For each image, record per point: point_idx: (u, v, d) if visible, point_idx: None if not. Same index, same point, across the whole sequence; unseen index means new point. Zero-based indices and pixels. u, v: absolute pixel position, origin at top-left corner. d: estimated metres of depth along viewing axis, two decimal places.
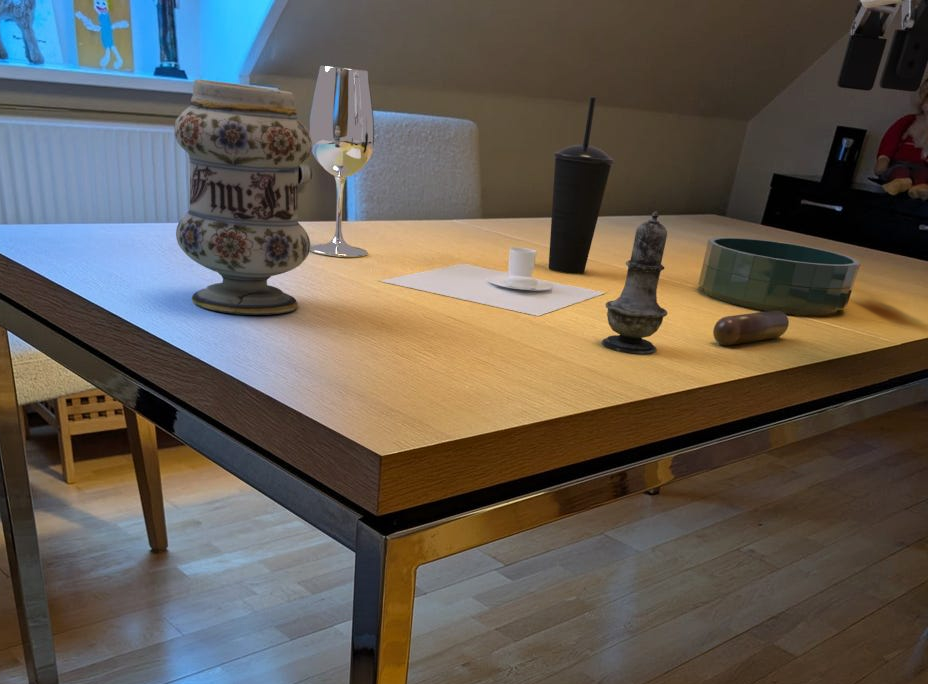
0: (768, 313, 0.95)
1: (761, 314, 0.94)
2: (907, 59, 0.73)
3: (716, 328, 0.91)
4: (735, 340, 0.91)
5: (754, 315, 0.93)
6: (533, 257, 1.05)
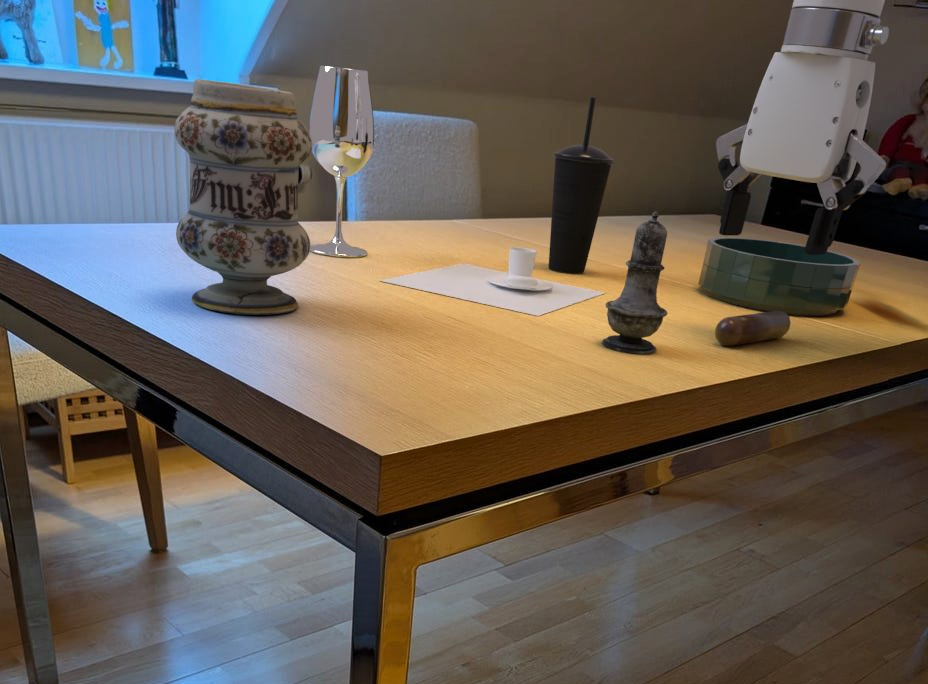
0: (771, 315, 0.94)
1: (764, 316, 0.94)
2: (829, 232, 0.85)
3: (718, 328, 0.91)
4: (735, 342, 0.91)
5: (757, 317, 0.93)
6: (533, 257, 1.05)
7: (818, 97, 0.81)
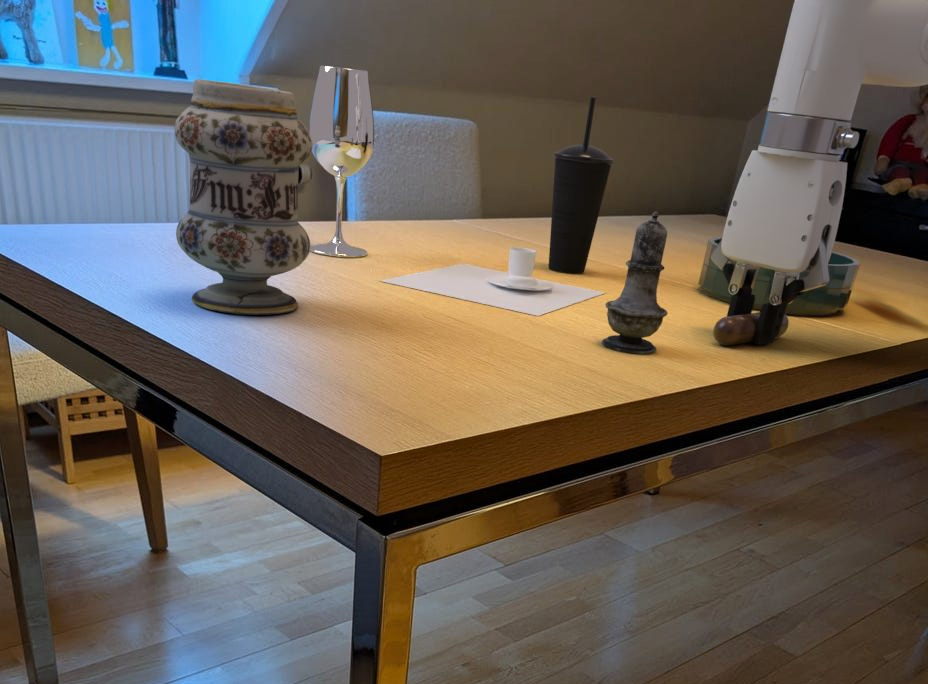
0: None
1: None
2: (775, 324, 0.92)
3: (716, 328, 0.91)
4: (735, 340, 0.91)
5: (754, 315, 0.93)
6: (533, 257, 1.05)
7: (793, 195, 0.85)
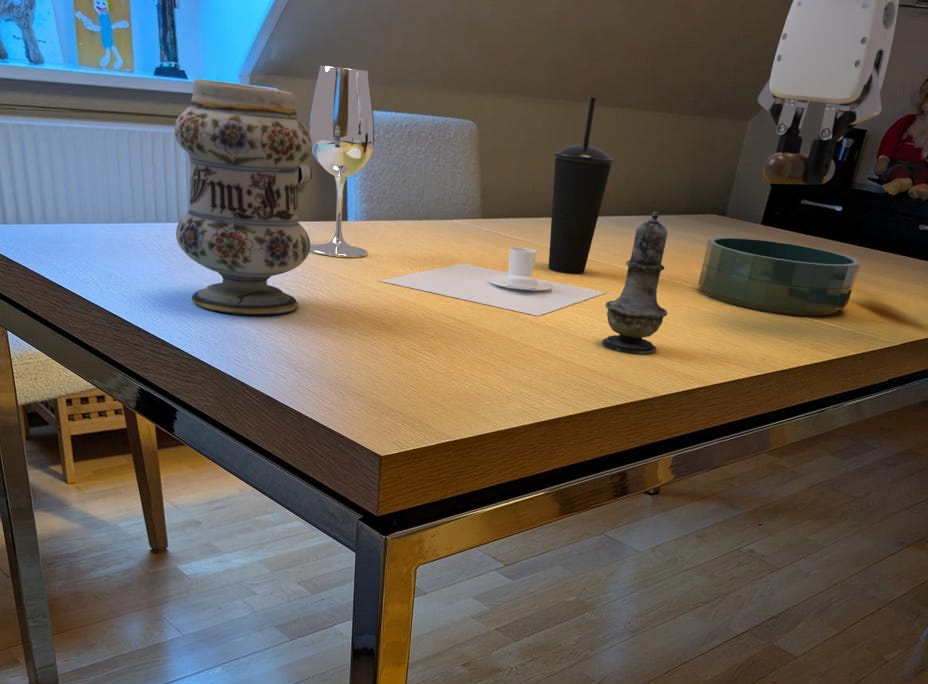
0: None
1: None
2: (825, 162, 0.92)
3: (767, 165, 0.91)
4: (786, 176, 0.91)
5: (803, 154, 0.93)
6: (533, 257, 1.05)
7: (846, 19, 0.85)
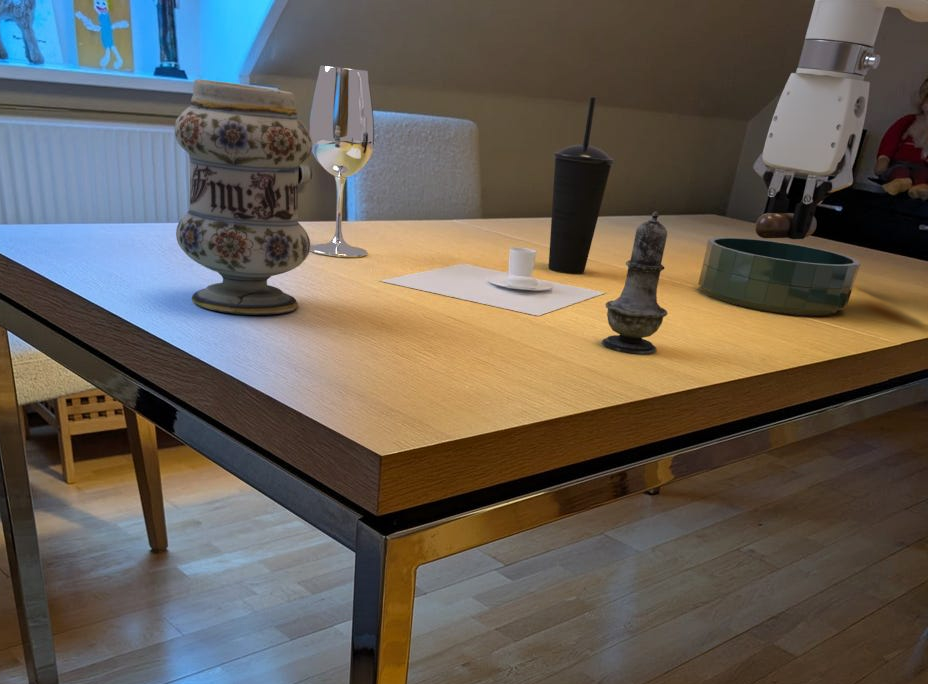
0: None
1: None
2: (806, 221, 1.11)
3: (758, 223, 1.10)
4: (773, 233, 1.10)
5: (789, 214, 1.12)
6: (533, 257, 1.05)
7: (825, 109, 1.04)
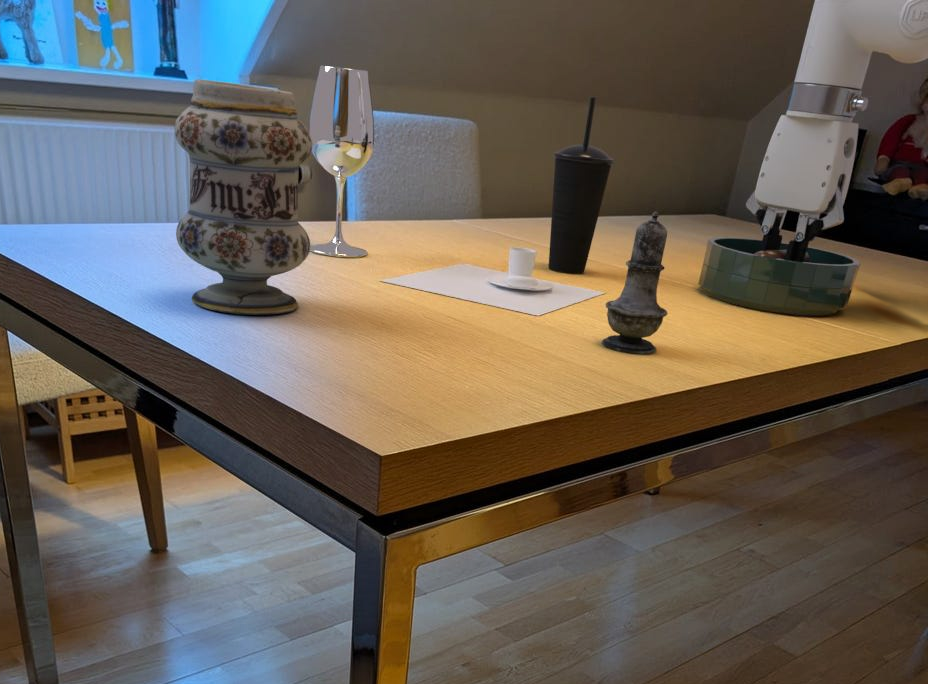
0: None
1: None
2: (799, 258, 1.13)
3: None
4: None
5: (781, 251, 1.14)
6: (533, 257, 1.05)
7: (815, 150, 1.06)
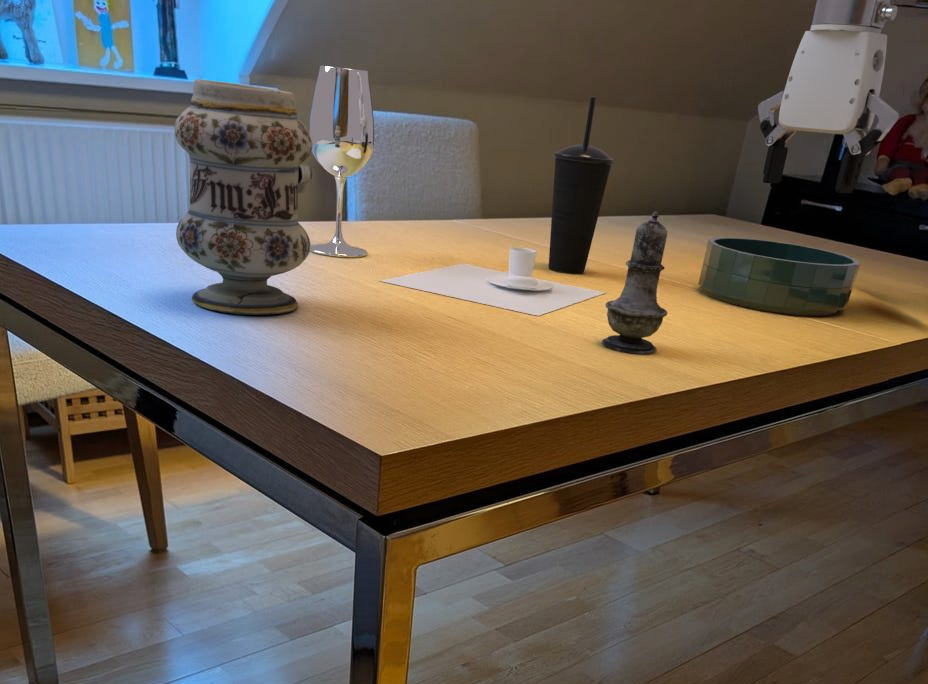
0: None
1: None
2: (854, 173, 1.06)
3: None
4: None
5: None
6: (533, 257, 1.05)
7: (842, 65, 1.01)
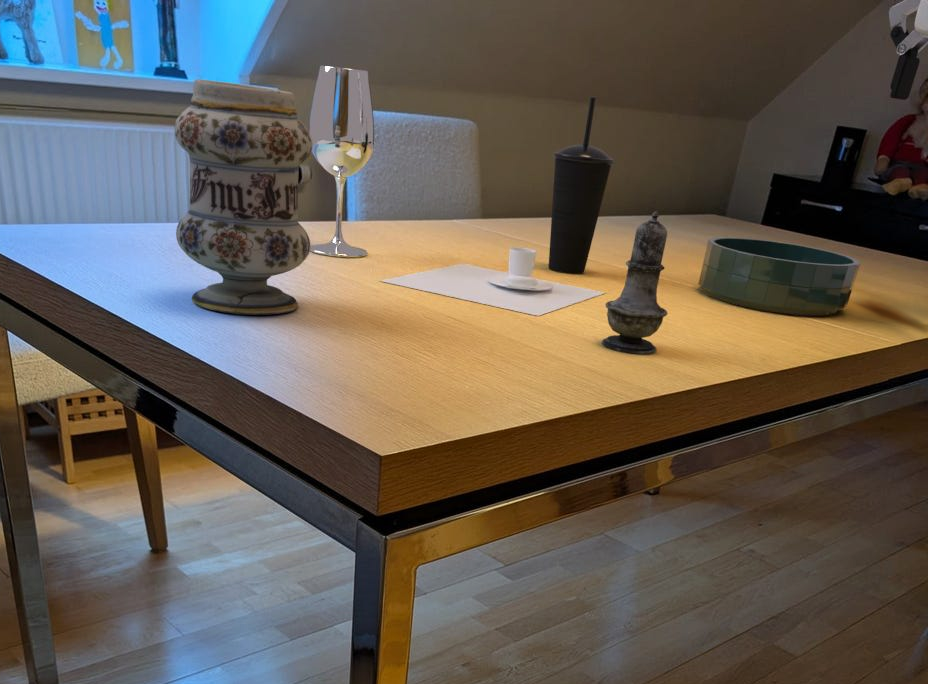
0: None
1: None
2: None
3: None
4: None
5: None
6: (533, 257, 1.05)
7: None
